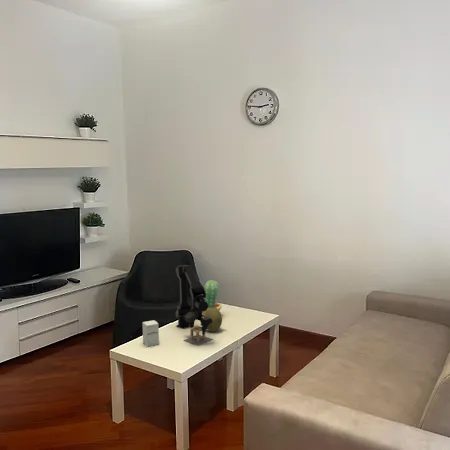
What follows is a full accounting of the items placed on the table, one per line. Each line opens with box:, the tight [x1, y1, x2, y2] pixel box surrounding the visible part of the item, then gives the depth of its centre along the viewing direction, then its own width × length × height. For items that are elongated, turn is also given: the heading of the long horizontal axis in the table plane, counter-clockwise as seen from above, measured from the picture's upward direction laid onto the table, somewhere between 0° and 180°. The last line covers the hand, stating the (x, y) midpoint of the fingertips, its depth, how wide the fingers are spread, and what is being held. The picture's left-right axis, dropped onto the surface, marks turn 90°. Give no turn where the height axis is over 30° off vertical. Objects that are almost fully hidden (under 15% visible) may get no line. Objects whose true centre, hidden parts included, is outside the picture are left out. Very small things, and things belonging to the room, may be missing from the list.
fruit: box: [203, 307, 223, 332], centre depth 290 cm, size 11×11×15 cm
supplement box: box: [142, 319, 160, 348], centre depth 270 cm, size 7×7×13 cm
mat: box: [183, 334, 214, 347], centre depth 275 cm, size 12×12×1 cm
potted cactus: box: [202, 279, 223, 315], centre depth 315 cm, size 15×15×25 cm
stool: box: [189, 325, 206, 342], centre depth 275 cm, size 6×6×7 cm
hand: (197, 332), depth 275 cm, fingers open, 9 cm apart
